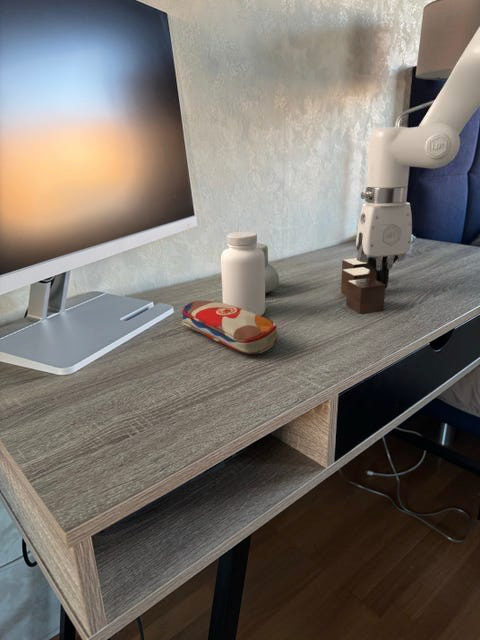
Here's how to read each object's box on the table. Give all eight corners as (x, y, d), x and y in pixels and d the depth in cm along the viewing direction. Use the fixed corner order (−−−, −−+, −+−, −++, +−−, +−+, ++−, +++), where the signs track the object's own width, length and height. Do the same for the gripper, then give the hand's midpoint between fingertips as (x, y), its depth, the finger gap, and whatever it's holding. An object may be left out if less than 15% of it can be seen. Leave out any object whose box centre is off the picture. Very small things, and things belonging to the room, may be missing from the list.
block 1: (360, 278, 102) (362, 257, 100) (372, 284, 98) (374, 262, 96) (341, 281, 101) (342, 259, 99) (352, 287, 96) (353, 264, 95)
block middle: (362, 289, 94) (363, 267, 93) (374, 296, 90) (376, 272, 88) (340, 292, 93) (341, 269, 91) (352, 299, 89) (354, 275, 87)
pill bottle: (258, 322, 79) (255, 238, 74) (216, 318, 82) (211, 237, 77) (270, 307, 86) (269, 230, 81) (232, 304, 89) (228, 229, 83)
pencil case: (219, 369, 63) (217, 337, 61) (176, 325, 80) (174, 298, 78) (286, 352, 67) (286, 321, 66) (232, 313, 84) (231, 288, 82)
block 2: (369, 302, 87) (370, 277, 85) (383, 310, 82) (385, 284, 81) (346, 305, 86) (347, 280, 84) (359, 314, 81) (361, 287, 79)
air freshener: (229, 287, 100) (227, 243, 96) (263, 282, 102) (262, 239, 99) (245, 301, 90) (243, 253, 87) (282, 296, 93) (282, 248, 89)
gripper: (361, 201, 81) (356, 296, 87) (432, 195, 84) (421, 287, 91) (341, 197, 87) (338, 286, 94) (407, 192, 91) (399, 278, 98)
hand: (379, 287), depth 93 cm, fingers closed
